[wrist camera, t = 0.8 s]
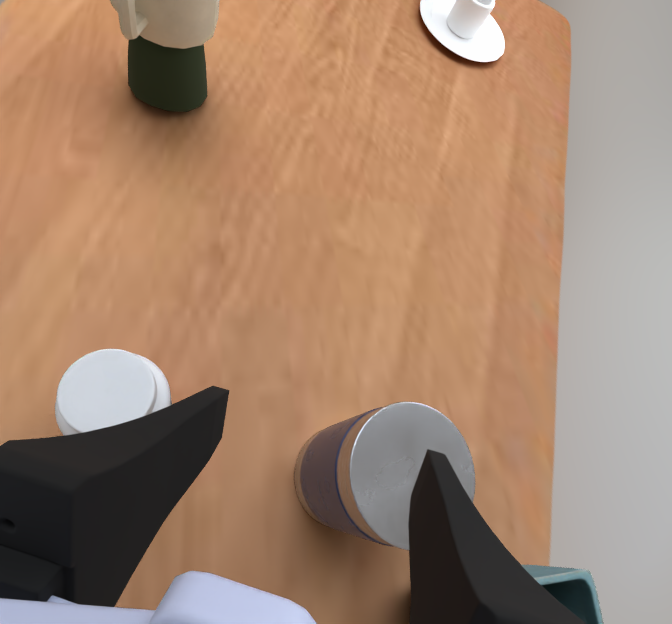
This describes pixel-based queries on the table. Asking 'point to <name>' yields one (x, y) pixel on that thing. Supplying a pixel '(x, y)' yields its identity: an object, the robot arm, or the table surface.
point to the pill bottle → (109, 391)
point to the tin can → (376, 469)
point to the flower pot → (570, 590)
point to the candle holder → (465, 27)
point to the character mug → (168, 49)
